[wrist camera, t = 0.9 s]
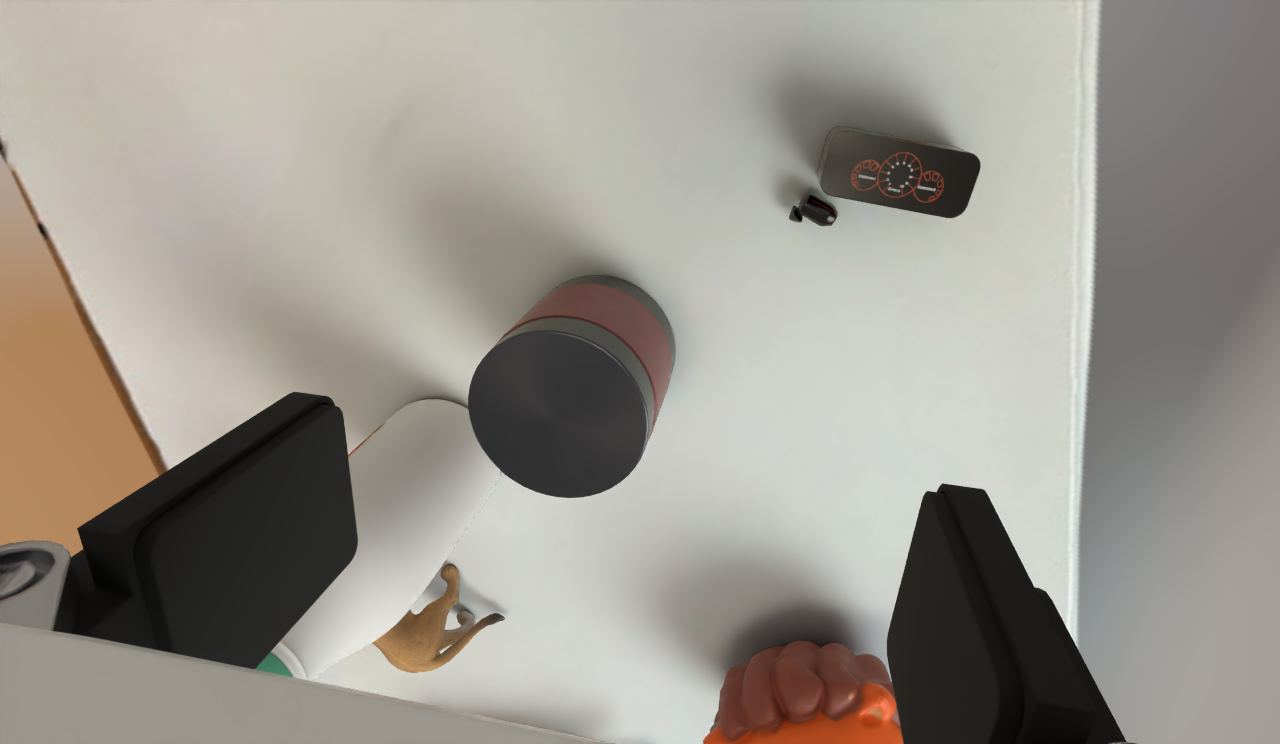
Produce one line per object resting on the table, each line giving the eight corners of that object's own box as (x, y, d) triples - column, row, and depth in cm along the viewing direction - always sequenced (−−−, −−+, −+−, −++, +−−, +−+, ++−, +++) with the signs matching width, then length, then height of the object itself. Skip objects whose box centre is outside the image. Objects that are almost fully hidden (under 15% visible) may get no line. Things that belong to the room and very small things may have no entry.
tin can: (526, 267, 38) (459, 320, 30) (680, 279, 37) (653, 338, 29) (531, 406, 42) (472, 487, 34) (672, 422, 41) (646, 510, 32)
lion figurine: (309, 552, 50) (218, 646, 42) (322, 496, 48) (228, 584, 39) (497, 636, 50) (442, 746, 42) (519, 584, 47) (465, 690, 39)
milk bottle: (437, 371, 42) (181, 598, 24) (529, 459, 43) (351, 737, 25) (366, 441, 45) (91, 690, 27) (454, 521, 46) (248, 810, 28)
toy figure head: (761, 741, 49) (756, 919, 39) (689, 632, 46) (663, 792, 36) (929, 699, 45) (975, 885, 35) (861, 577, 42) (888, 740, 32)
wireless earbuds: (811, 120, 33) (815, 125, 30) (966, 147, 32) (985, 155, 29) (788, 217, 35) (789, 230, 32) (932, 245, 34) (947, 262, 31)
